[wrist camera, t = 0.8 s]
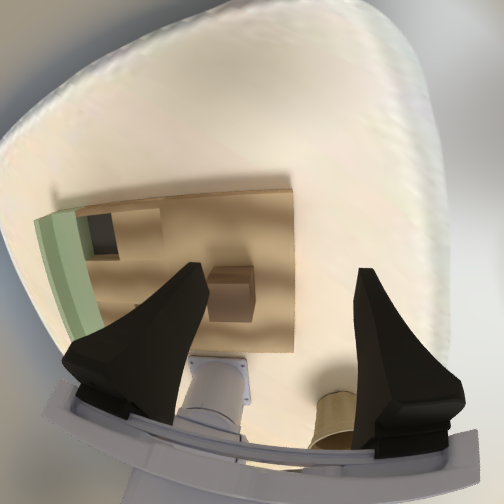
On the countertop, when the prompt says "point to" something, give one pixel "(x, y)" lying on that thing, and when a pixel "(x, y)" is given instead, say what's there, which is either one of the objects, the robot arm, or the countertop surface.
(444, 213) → the countertop surface
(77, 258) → the box
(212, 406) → the robot arm
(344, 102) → the countertop surface
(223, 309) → the walnut block
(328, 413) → the flower pot
